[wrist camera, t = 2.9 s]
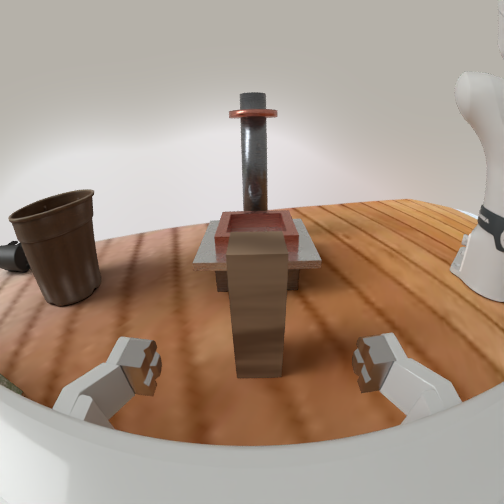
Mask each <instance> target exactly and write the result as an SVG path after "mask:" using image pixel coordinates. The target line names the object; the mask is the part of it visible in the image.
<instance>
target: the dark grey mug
mask: <svg viewBox="0 0 504 504" xmlns="http://www.w3.org/2000/svg"><path fill="white" fill-rule="evenodd" d="M17 243H18V241H12V242H11V243H9V244H8V245H5V246H0V268H2V269H5V270H9V271H20V272H26V271H28V270H29V269H30V268H31V267H30V265H29V263H28V260H27V258H26V256H25V253H24V250H23V248H22V245H21V242H20V243H19V244H17ZM15 244H17V245H15Z"/></svg>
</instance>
